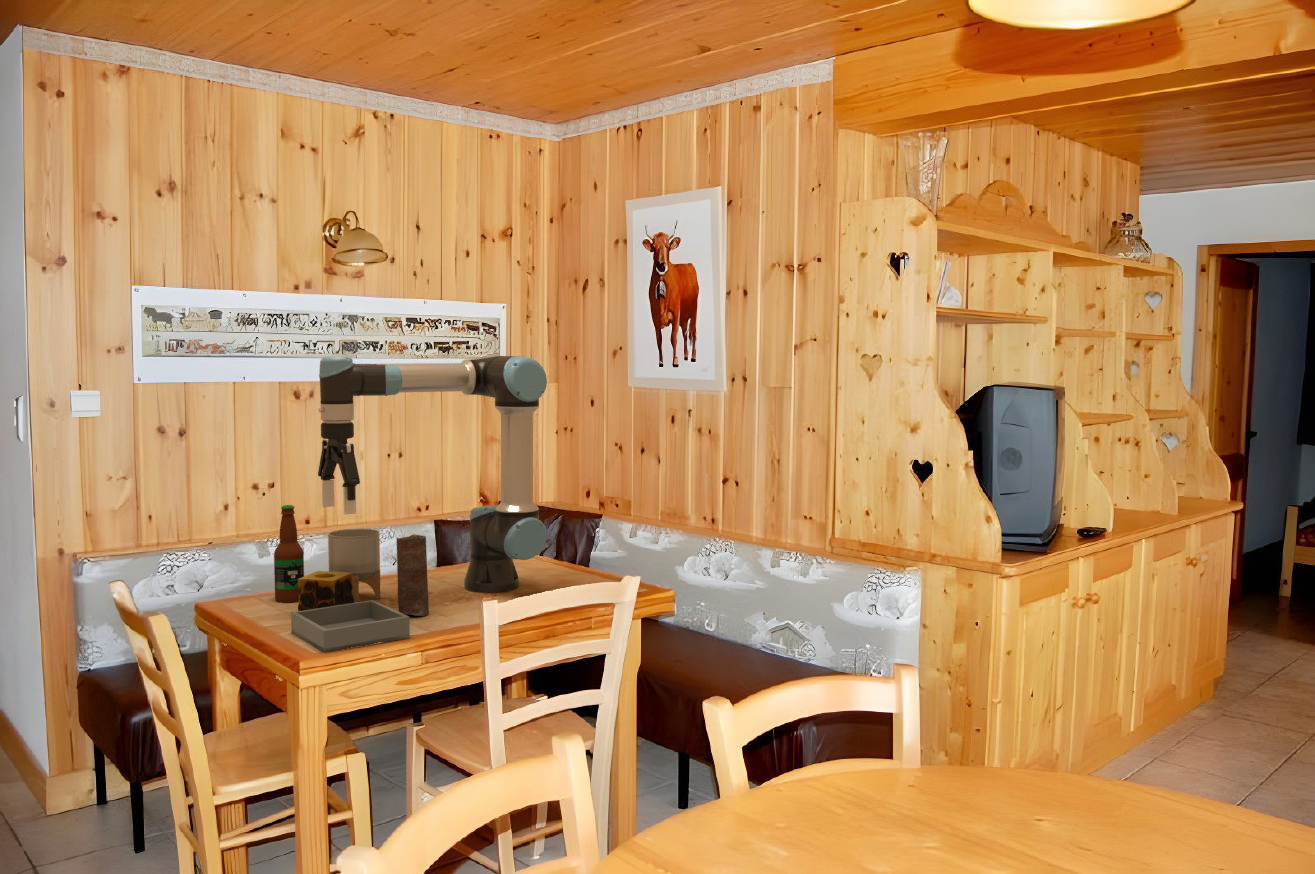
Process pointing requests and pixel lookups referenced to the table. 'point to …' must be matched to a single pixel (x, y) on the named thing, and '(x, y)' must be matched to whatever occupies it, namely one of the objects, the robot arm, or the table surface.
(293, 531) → the bottle
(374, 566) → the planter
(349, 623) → the bin
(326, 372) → the robot arm
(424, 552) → the candle
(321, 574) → the candle
